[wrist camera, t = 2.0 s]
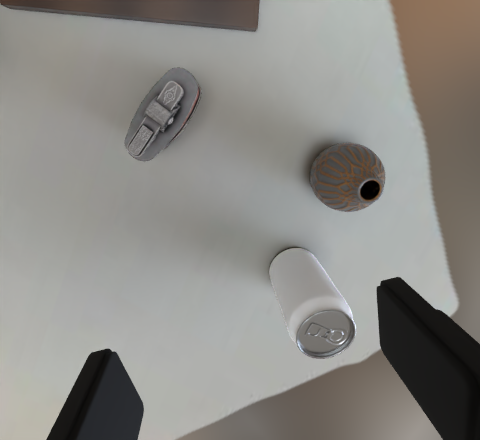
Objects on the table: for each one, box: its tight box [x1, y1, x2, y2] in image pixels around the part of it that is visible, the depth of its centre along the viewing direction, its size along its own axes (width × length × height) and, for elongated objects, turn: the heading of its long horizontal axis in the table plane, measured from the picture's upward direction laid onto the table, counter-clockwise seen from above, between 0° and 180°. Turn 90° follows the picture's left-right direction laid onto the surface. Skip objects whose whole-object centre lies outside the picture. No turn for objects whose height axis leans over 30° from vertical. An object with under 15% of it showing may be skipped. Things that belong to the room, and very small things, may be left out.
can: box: [269, 248, 356, 359], centre depth 32 cm, size 6×6×12 cm
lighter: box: [125, 67, 201, 161], centre depth 25 cm, size 8×3×10 cm, turn 142°
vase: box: [310, 143, 385, 212], centre depth 29 cm, size 7×7×9 cm
